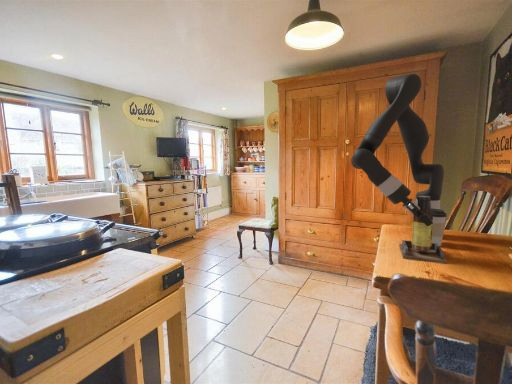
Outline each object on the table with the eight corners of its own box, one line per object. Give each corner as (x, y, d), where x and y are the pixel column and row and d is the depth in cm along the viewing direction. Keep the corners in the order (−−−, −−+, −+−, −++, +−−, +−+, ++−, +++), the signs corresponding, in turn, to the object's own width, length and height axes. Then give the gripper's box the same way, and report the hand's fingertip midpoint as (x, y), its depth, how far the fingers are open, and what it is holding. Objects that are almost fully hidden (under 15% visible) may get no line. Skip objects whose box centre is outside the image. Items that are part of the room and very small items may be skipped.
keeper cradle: (399, 246, 103) (400, 227, 102) (437, 250, 98) (438, 230, 97) (403, 258, 91) (404, 237, 90) (446, 263, 85) (448, 241, 84)
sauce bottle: (434, 252, 89) (439, 198, 86) (415, 251, 90) (419, 197, 88) (426, 246, 95) (430, 195, 93) (408, 245, 97) (411, 195, 94)
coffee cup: (418, 239, 111) (420, 206, 109) (443, 242, 106) (446, 208, 104) (418, 244, 104) (420, 209, 102) (445, 248, 99) (447, 211, 97)
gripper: (404, 184, 86) (443, 220, 83) (399, 180, 99) (433, 212, 96) (386, 198, 89) (423, 234, 86) (384, 193, 102) (416, 224, 99)
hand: (428, 222), depth 91 cm, fingers closed on sauce bottle, 6 cm apart
